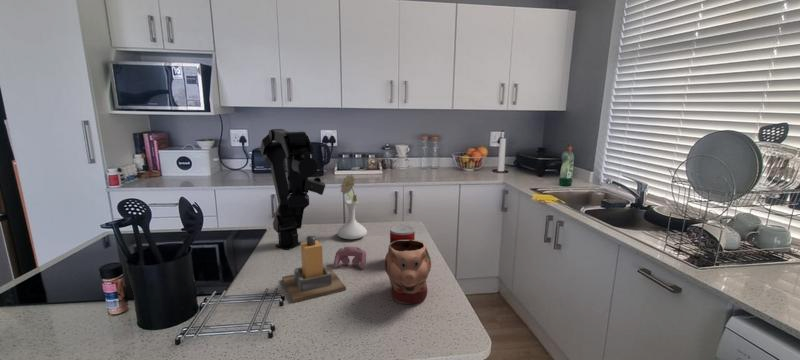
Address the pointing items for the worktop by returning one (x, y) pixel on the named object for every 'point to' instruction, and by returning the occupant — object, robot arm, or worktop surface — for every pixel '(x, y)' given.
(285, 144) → the robot arm
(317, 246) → the plug
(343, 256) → the video game controller
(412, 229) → the canned food
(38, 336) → the worktop surface
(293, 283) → the holder
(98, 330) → the worktop surface
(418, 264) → the decorative planter
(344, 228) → the flower in vase
